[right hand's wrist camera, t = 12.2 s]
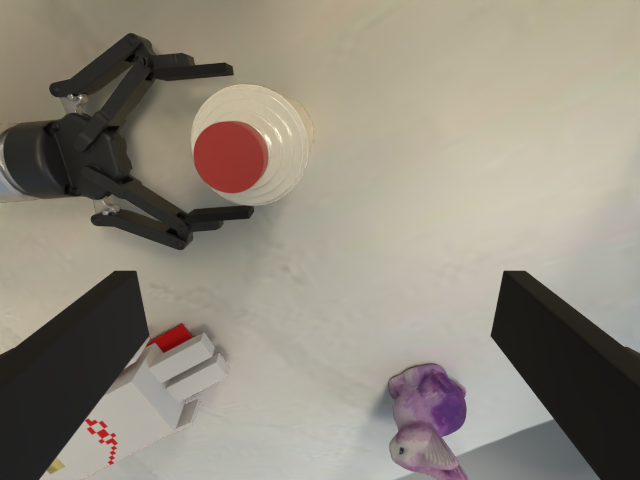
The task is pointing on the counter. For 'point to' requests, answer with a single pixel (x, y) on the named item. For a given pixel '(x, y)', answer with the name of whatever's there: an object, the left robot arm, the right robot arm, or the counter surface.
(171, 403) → the toy
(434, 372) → the figurine
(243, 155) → the cap
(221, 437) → the counter surface
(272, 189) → the bottle
